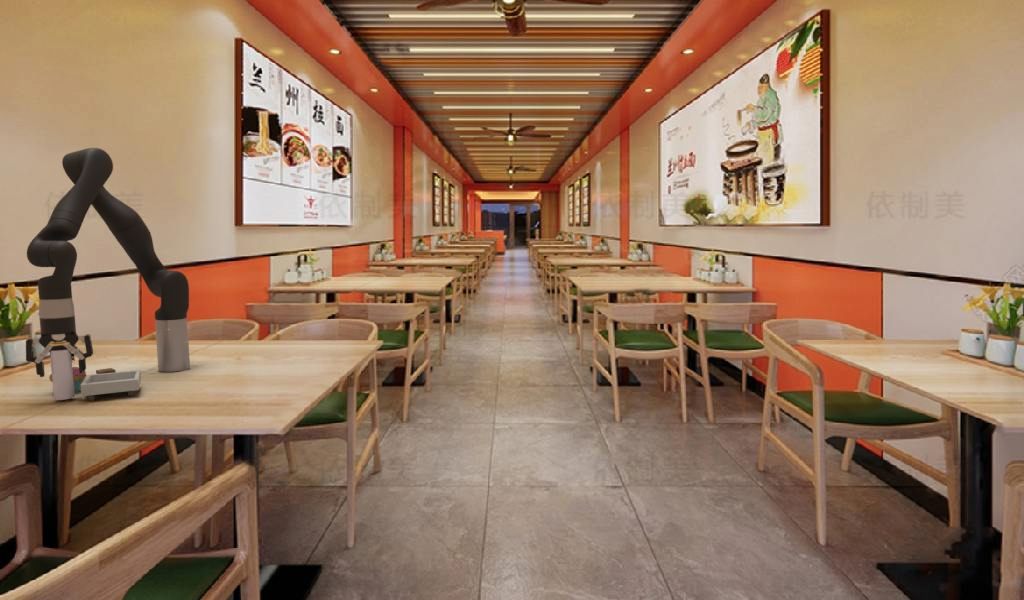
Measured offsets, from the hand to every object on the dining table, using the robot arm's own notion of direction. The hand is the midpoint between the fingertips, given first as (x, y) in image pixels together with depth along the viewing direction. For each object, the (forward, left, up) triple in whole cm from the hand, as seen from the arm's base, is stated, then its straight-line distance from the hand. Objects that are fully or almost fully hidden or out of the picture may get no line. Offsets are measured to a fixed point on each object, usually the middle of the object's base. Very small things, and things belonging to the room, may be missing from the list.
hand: (62, 374), depth 159 cm
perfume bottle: (0, 0, -7) cm, 7 cm away
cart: (-11, -1, -7) cm, 13 cm away
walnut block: (-8, -18, -7) cm, 21 cm away
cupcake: (0, -11, -7) cm, 13 cm away
